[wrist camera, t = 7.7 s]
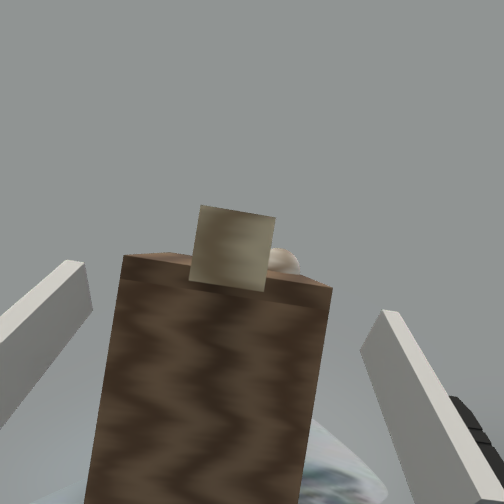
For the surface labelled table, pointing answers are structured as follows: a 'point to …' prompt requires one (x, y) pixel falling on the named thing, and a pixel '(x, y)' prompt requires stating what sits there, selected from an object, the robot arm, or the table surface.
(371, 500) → the table surface
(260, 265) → the wooden board
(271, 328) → the wooden block
